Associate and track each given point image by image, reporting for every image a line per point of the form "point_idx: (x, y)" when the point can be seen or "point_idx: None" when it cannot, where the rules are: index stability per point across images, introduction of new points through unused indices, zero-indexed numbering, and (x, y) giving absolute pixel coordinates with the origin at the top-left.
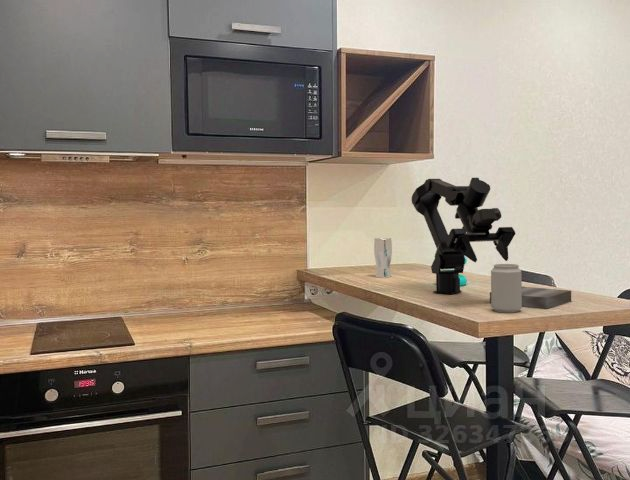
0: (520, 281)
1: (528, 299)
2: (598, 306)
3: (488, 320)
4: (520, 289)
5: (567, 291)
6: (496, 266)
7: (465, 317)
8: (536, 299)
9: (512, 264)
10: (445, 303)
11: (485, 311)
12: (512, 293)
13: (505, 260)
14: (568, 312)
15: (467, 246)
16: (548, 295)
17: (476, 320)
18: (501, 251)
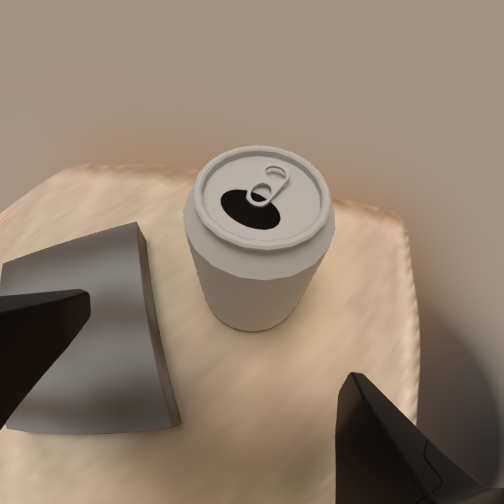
0: (234, 190)
1: (144, 277)
2: (51, 206)
3: (378, 224)
4: (234, 210)
5: (15, 260)
6: (329, 198)
7: (405, 275)
8: (141, 252)
9: (201, 194)
10: (318, 496)
11: (315, 313)
12: (273, 218)
13: (87, 318)
14: (151, 191)
15: (450, 462)
16: (96, 243)
17: (399, 237)
18: (19, 366)
